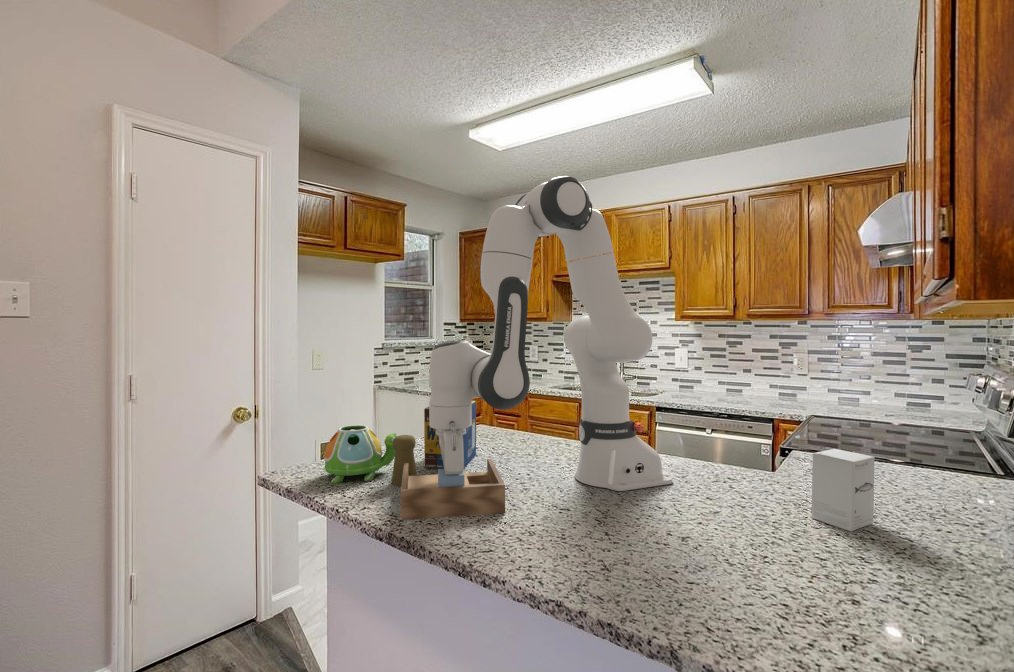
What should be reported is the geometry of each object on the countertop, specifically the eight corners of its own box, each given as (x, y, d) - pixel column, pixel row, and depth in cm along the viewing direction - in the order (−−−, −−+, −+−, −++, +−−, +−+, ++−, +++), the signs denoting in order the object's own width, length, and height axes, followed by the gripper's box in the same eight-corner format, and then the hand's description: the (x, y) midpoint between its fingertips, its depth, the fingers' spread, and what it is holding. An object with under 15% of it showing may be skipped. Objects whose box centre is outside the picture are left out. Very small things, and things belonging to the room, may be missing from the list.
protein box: (423, 468, 126) (423, 408, 126) (441, 453, 141) (441, 399, 141) (463, 470, 124) (463, 409, 124) (477, 454, 139) (476, 400, 139)
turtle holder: (405, 477, 119) (404, 428, 118) (325, 487, 112) (324, 435, 112) (396, 464, 130) (395, 419, 130) (323, 472, 123) (322, 424, 123)
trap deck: (491, 482, 115) (491, 458, 115) (505, 512, 96) (505, 484, 96) (404, 487, 111) (403, 463, 111) (400, 520, 93) (400, 491, 93)
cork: (420, 478, 118) (420, 433, 117) (413, 487, 112) (413, 439, 111) (396, 478, 118) (395, 432, 118) (387, 486, 112) (387, 438, 112)
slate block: (462, 492, 101) (462, 467, 101) (464, 500, 96) (464, 475, 96) (438, 493, 100) (438, 469, 100) (438, 502, 95) (438, 476, 95)
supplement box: (852, 532, 86) (853, 461, 86) (810, 518, 93) (810, 451, 93) (875, 524, 90) (876, 456, 90) (832, 511, 96) (833, 447, 96)
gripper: (471, 427, 93) (471, 499, 93) (461, 408, 113) (461, 468, 114) (437, 428, 92) (438, 501, 92) (433, 409, 112) (434, 469, 112)
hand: (451, 483), depth 103 cm, fingers closed
